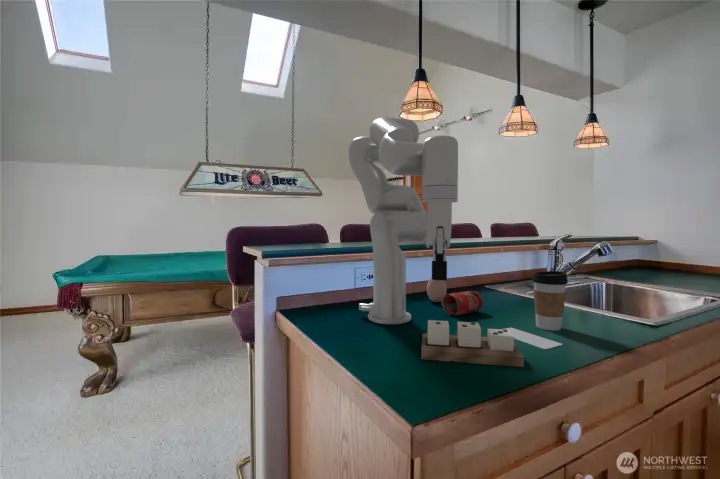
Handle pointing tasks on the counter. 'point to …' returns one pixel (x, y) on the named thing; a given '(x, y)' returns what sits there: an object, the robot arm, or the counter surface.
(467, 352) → the board
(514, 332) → the smartphone
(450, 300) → the beverage can
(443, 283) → the egg
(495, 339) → the white die
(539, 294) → the coffee cup
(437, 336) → the white die
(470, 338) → the white die
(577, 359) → the counter surface
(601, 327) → the counter surface
